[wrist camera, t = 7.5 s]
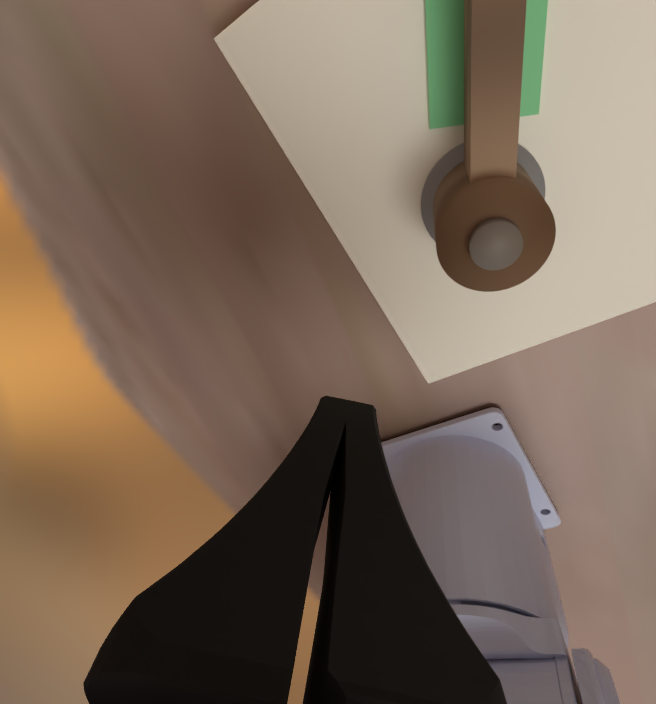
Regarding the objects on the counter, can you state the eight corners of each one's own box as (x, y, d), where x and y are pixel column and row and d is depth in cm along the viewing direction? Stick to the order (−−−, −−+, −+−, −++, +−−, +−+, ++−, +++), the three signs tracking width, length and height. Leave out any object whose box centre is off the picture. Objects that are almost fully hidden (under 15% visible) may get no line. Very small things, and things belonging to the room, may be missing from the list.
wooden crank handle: (530, 245, 17) (552, 294, 14) (434, 254, 17) (438, 301, 15) (567, -200, 11) (618, -268, 8) (419, -161, 11) (421, -212, 9)
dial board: (1053, 126, 14) (1120, 139, 13) (427, 363, 23) (428, 386, 21) (1170, -749, 8) (1333, -911, 6) (228, 35, 16) (211, 39, 15)
